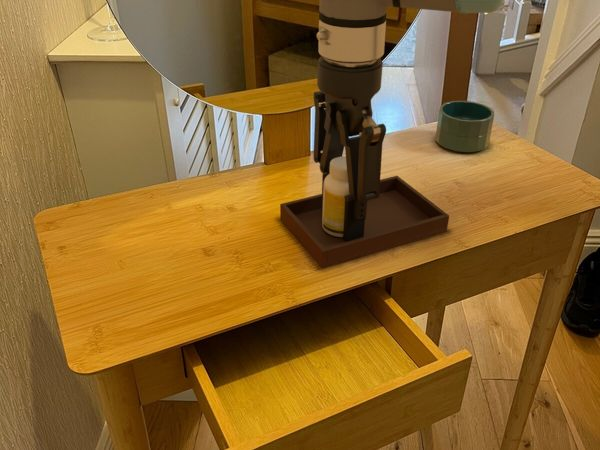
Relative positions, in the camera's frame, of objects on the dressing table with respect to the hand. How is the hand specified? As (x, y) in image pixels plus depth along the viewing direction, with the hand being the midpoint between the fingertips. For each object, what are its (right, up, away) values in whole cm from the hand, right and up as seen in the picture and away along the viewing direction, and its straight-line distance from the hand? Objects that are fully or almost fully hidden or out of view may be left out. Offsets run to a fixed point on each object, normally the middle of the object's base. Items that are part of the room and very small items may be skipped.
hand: (342, 225), depth 84 cm
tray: (+3, 0, +2) cm, 3 cm away
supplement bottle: (0, 0, 0) cm, 1 cm away
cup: (+22, +14, +24) cm, 36 cm away
